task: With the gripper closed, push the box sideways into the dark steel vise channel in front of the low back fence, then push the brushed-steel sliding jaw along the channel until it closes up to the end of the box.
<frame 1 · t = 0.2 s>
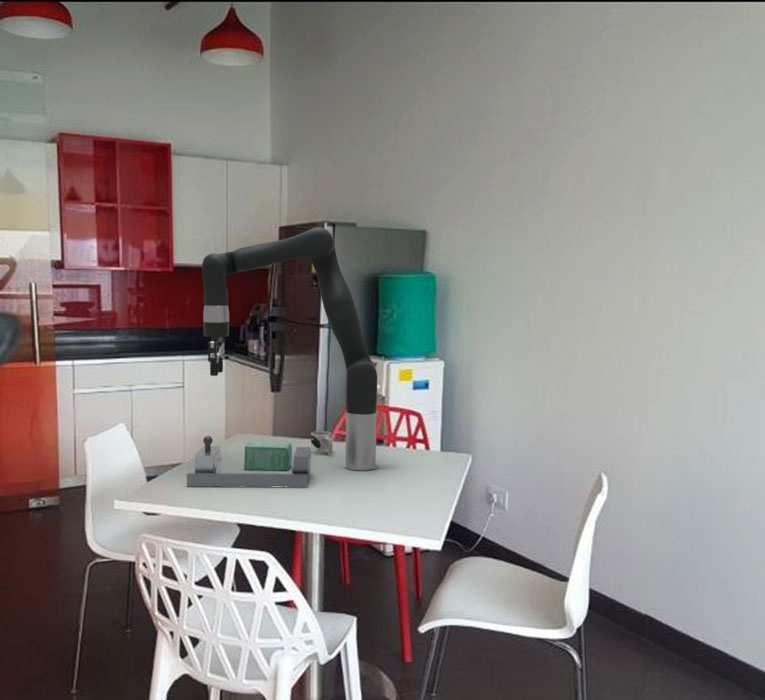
hand: (216, 373, 221), 28 cm above the table, tool pointing down, fingers open, 8 cm apart
vise: (260, 478, 210), on the table
box: (268, 468, 223), on the table
sliding jaw: (208, 457, 209), point 6 cm above the table, slide at 0.0 cm
mug: (323, 454, 243), on the table
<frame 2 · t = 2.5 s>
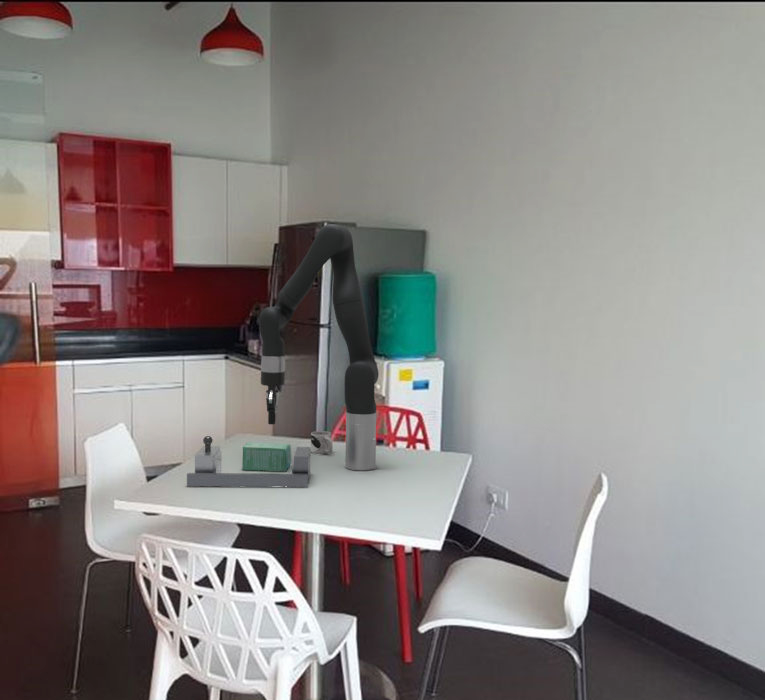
hand: (271, 423, 232), 12 cm above the table, tool pointing down, fingers closed
box: (267, 469, 222), on the table
everything else where it was.
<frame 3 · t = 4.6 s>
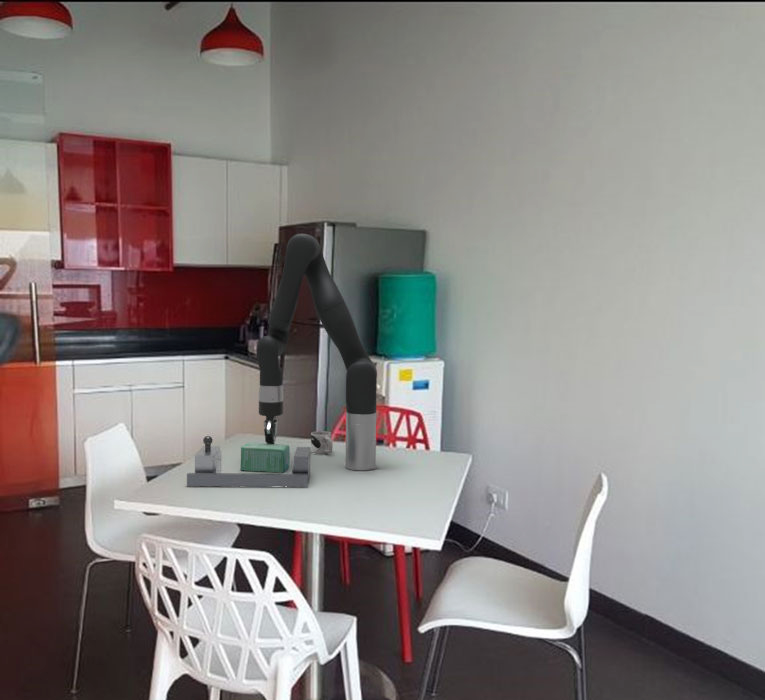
hand: (270, 454, 227), 3 cm above the table, tool pointing down, fingers closed
box: (265, 470, 221), on the table, touching gripper
everything else where it was.
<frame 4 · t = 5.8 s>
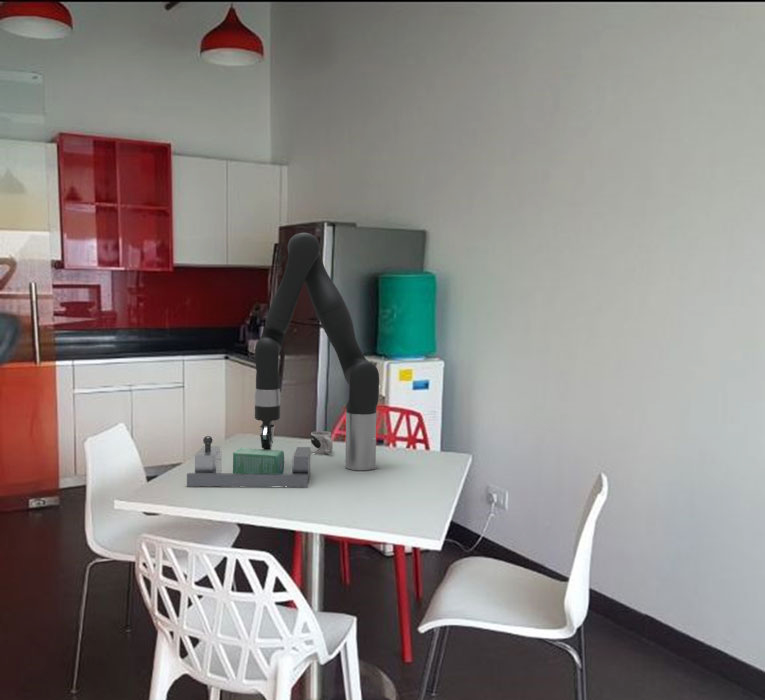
hand: (267, 460, 219), 3 cm above the table, tool pointing down, fingers closed
box: (258, 476, 213), on the table
everything else where it was.
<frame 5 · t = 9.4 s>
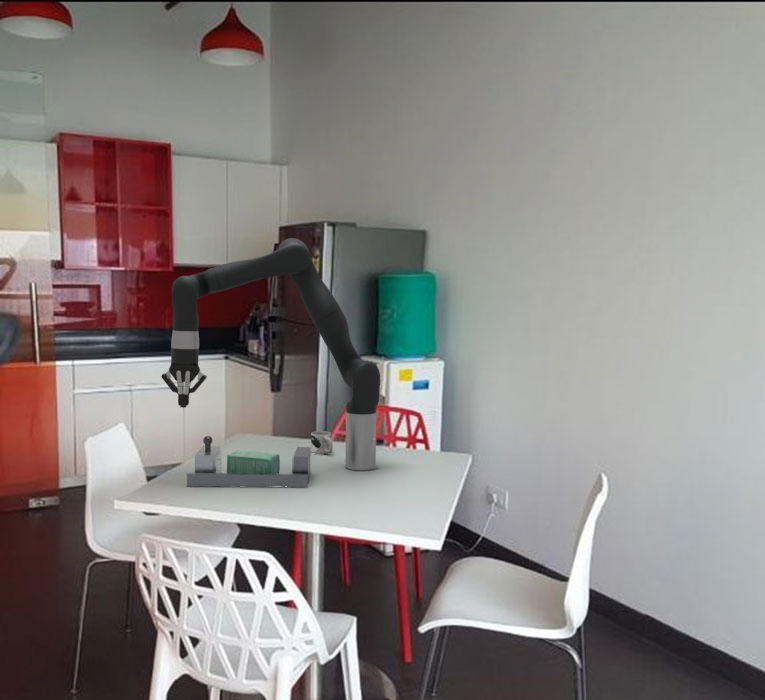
hand: (183, 407, 208), 20 cm above the table, tool pointing down, fingers closed
box: (253, 480, 209), on the table
everything else where it was.
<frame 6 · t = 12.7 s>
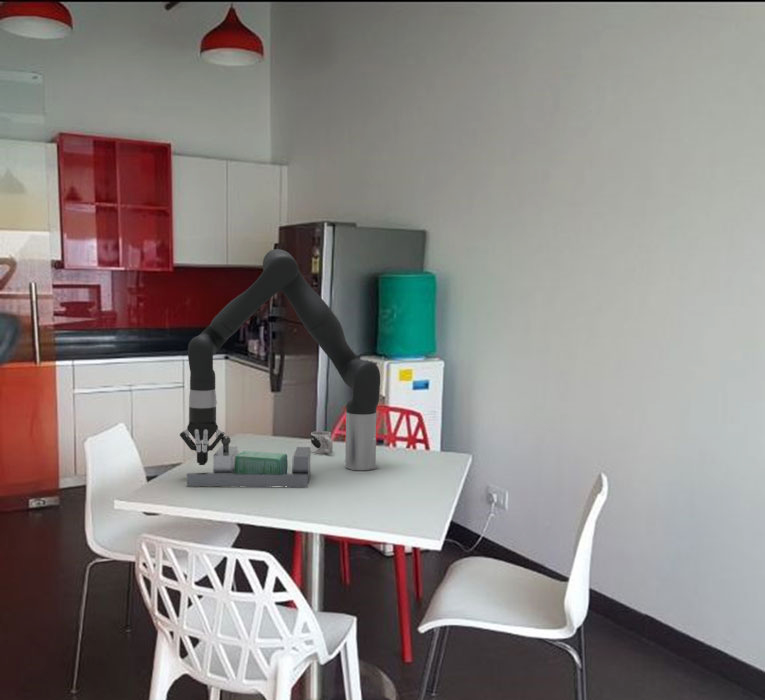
hand: (202, 464, 209), 4 cm above the table, tool pointing down, fingers closed
box: (261, 480, 209), on the table, touching sliding jaw
sliding jaw: (226, 457, 209), point 6 cm above the table, slide at 5.1 cm, touching box, hand
everything else where it was.
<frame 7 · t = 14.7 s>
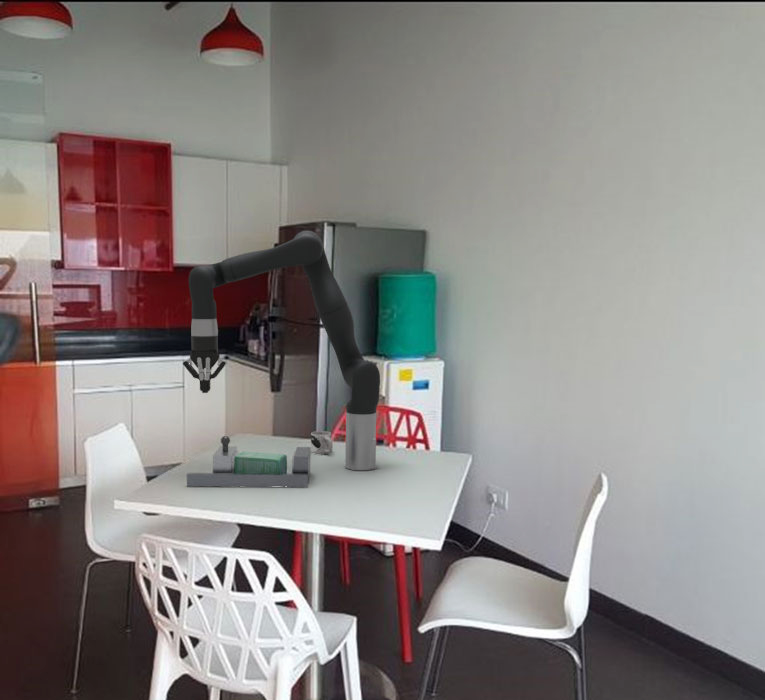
hand: (205, 392, 215), 24 cm above the table, tool pointing down, fingers closed
box: (261, 480, 209), on the table
sliding jaw: (226, 457, 209), point 6 cm above the table, slide at 5.0 cm
everything else where it was.
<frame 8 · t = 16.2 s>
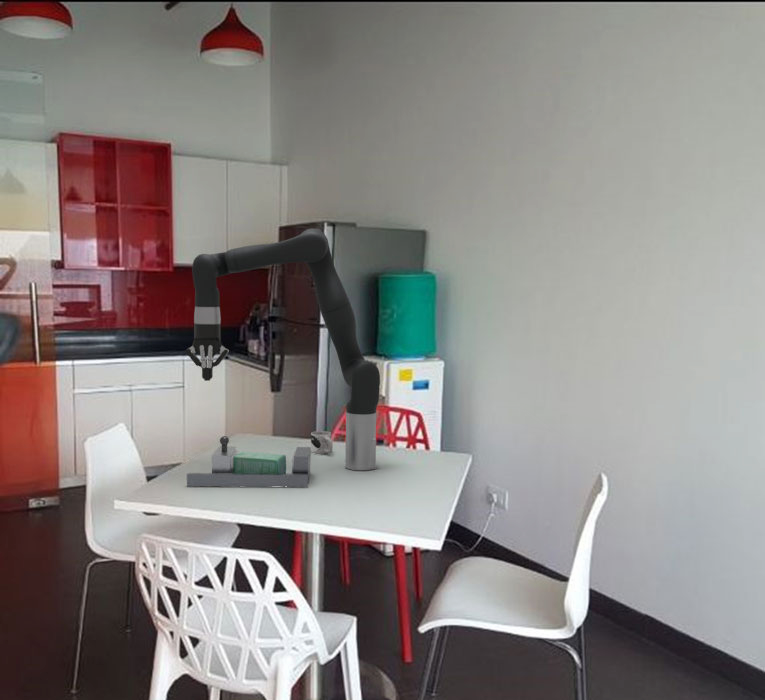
hand: (207, 380, 217), 27 cm above the table, tool pointing down, fingers closed
nothing on the table moved.
at the end: sliding jaw slide at 4.6 cm; box inside the target area (1.6 cm from its centre), on the table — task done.
